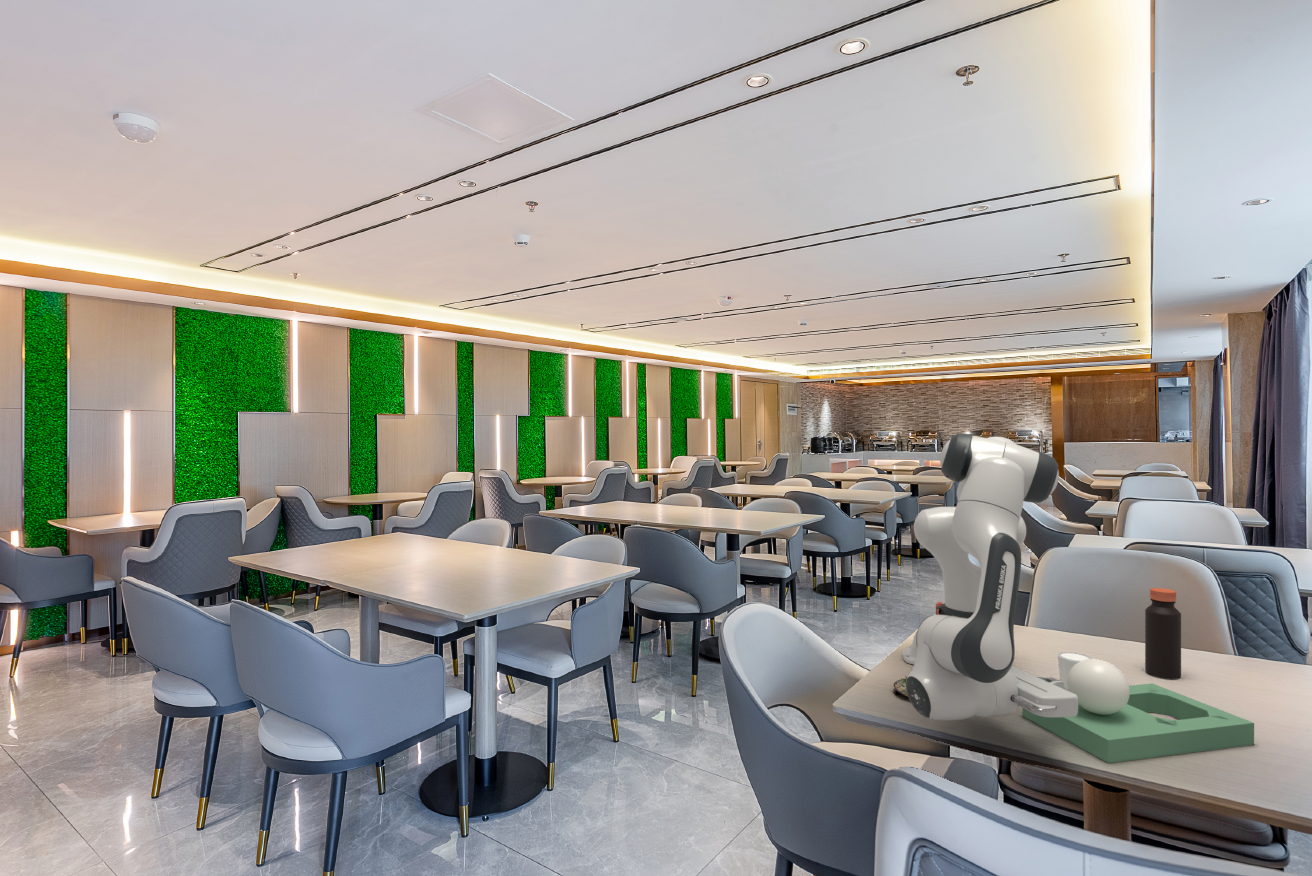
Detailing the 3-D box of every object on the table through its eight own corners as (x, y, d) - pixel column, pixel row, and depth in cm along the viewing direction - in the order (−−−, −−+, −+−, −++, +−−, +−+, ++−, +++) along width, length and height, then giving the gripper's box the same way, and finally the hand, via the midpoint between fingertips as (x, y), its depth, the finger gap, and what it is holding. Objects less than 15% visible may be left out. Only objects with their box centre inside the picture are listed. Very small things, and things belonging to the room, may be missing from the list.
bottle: (1185, 675, 158) (1185, 590, 158) (1175, 682, 154) (1175, 595, 154) (1150, 667, 164) (1150, 585, 164) (1140, 673, 160) (1140, 589, 159)
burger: (885, 697, 147) (884, 663, 147) (904, 681, 156) (904, 649, 156) (942, 711, 139) (942, 675, 139) (958, 694, 148) (958, 660, 148)
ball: (1068, 717, 126) (1068, 664, 126) (1065, 698, 135) (1065, 648, 135) (1133, 728, 121) (1133, 672, 121) (1125, 708, 130) (1125, 656, 130)
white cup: (1081, 695, 146) (1081, 663, 146) (1050, 685, 153) (1050, 654, 152) (1100, 690, 150) (1100, 658, 150) (1069, 680, 156) (1069, 650, 156)
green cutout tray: (1108, 763, 117) (1108, 740, 116) (1022, 715, 136) (1022, 696, 136) (1254, 744, 123) (1254, 722, 123) (1152, 702, 143) (1152, 683, 143)
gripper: (1037, 693, 113) (1105, 686, 116) (957, 655, 133) (1018, 650, 136) (1037, 730, 113) (1106, 723, 116) (957, 687, 133) (1018, 681, 136)
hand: (1057, 683), depth 126 cm, fingers closed
